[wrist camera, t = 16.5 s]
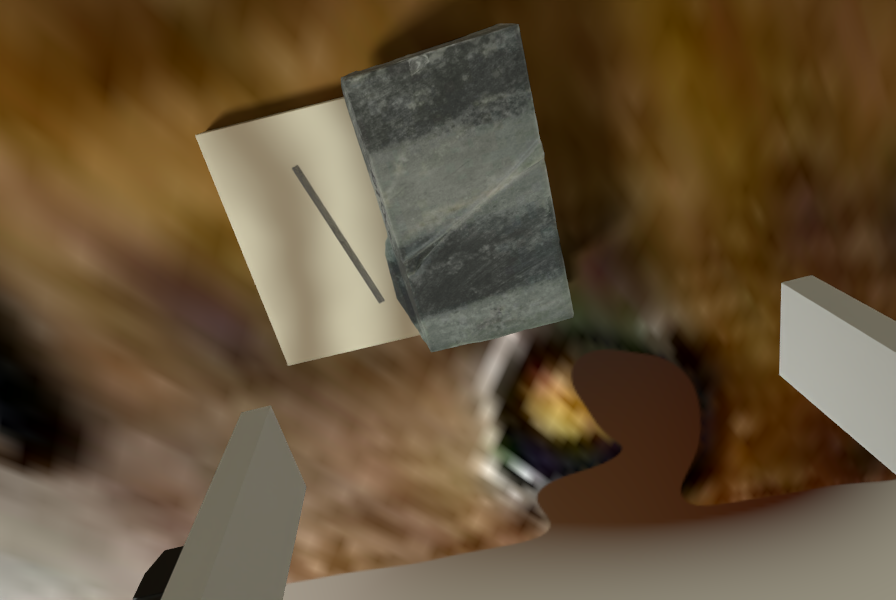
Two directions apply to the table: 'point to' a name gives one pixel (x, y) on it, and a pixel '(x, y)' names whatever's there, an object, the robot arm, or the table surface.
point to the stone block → (462, 188)
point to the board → (308, 229)
